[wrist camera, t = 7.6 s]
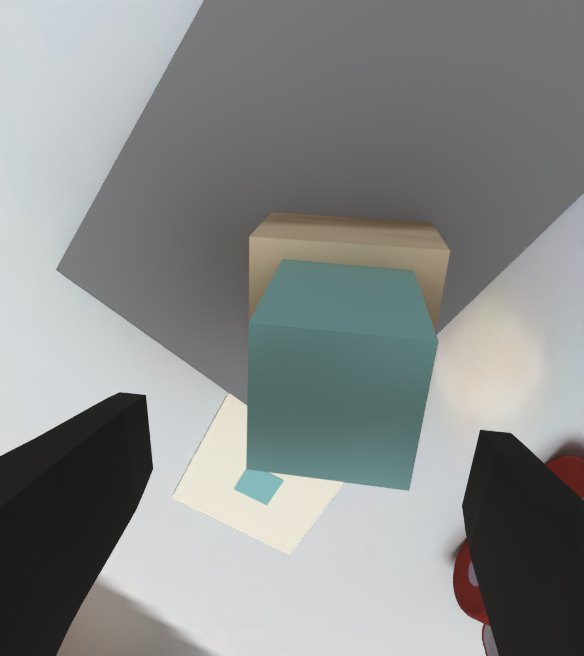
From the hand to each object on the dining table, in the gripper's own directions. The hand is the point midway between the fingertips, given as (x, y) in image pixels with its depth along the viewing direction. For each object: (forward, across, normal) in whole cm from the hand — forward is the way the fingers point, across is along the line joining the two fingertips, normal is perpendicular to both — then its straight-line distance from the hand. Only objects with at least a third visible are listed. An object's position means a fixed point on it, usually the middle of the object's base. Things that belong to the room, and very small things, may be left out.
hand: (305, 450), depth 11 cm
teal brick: (+6, -1, 0) cm, 6 cm away
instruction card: (+10, +2, +9) cm, 14 cm away
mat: (+10, 0, -4) cm, 11 cm away
